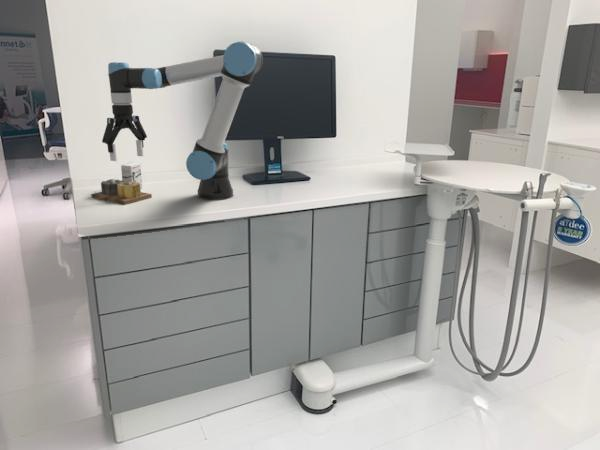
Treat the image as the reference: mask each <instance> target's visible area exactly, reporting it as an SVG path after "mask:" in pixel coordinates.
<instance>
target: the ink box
mask: <svg viewBox="0 0 600 450" xmlns="http://www.w3.org/2000/svg"><path fill="white" fill-rule="evenodd" d="M120 166H121V167H120V169H121V178H122V179H121V181H124V182H138V183H140V188H141V189H143V182H142V181H143V178H142V177H143V176H142V165H141V162H140V163H139V162H134V161H133V162H127V163H124V164H121V165H120Z"/></svg>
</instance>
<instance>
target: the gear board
mask: <svg viewBox="0 0 600 450" xmlns="http://www.w3.org/2000/svg"><path fill="white" fill-rule="evenodd" d="M121 182H124V181H122V180H120V179H115V178H110V179H107V180H103V181H101V183H100V187H101V191H99V192H94V193H91V194H90V195H91V198H92V199H95V200H96V199H97V200H101V201H105V202H111V203H116V204H120V205H129V204H133V203H137V202H140V201H145V200H148V199H151V198H152V195H153V194H152V193H148V192H142V191H141V196H139V197H136V198H135V197H134V198H120V197H118V188H117V184H120V183H121ZM126 185H132V182H126Z"/></svg>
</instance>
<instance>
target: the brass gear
mask: <svg viewBox="0 0 600 450" xmlns="http://www.w3.org/2000/svg"><path fill="white" fill-rule="evenodd" d="M117 188H118V197H120V198H134V197H135V198H136V197H139V196H141V192H142V191H141V188H140V183H138V182H132V185H126V182H121V183H120V184H117Z"/></svg>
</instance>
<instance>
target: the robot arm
mask: <svg viewBox="0 0 600 450" xmlns="http://www.w3.org/2000/svg"><path fill="white" fill-rule="evenodd" d="M263 62H264V57H263V54H262V51H261V50H260V49H259V48H258V47H257V46H256V45H254V44H252V43H248V42H245V41H235V42H233V43H231V44H230V45H228V46H227V47H226V48H225V50H224V53H223V54H222V55H217V56H212V57H207V58H203V59H197V60H193V61H188V62H187V61H186V62H183V63H177V64H172V65H168V66H167V65H166V66H161V67H157V68H155V67H154V68H153V67H138V68H137V67H134V68H133V67H130V66H129V63H128V62H115V61H114V62H109V63H108V66H107V67H108V68H107V69H108V72H107V73H108V74H107V75H108V81H109V87H110V88H109V90H110V99H111V100H110V101H111V104H112V105H111V109H112V114H113V117H107V118H106V126H105V129H104V130H105V131H104V132H103V133H104V134H103V138H102V140H101V141H102V143H103V144H106V146H107V153H109V158H110V161H111V162H117V160H118V159H117V151H116V144H115V143H114V142H115V140H116V138H117V137H118V135H119V133H120V131H122V130H123V129H129V130H130V131H131V133H132V134H133V136H134V137H135V138H136V140H135V144H136V156H137V157H144V149H143V148H144V145H145V144H144V141H146V139H147V137H148V136H147V133H146V131H145V130H144V127H143V125H142V123H141V120H140V116H139V115H133V114H134V109H133V108H134V107H133V99H132V97H133V96H132V89H139V90H140V89H144V90H146V89H147V90H157V89H162V88H167V87H170V86H175V85H181V84H185V83H191V82H197V81H202V80H206V79H207V80H208V79H213V78H218V77H221V78H222V80H221V84H220V86H219V89H218V92H217V94H216V98H215V100H214V102H213V105H212V108H211V111H210V114H209V117H208V120H207V123H206V125H205V128H204V131H203V133H202V137H201V138H198V139H197V140H196V141H195V144H194V146H193V151H192V152H190V154H188V156H187V157H186V163H185V165H186V169H187V172H188V173H189V174H190V175H191V176H192V177H193V179H197V180H200V181H199V184H198V189H197V197H198V198H201V199H205V200H224V199H229V198H232V197H233V196H234V189H233V187H232V184H231V181H230V177H229V175H230V174H229V173H230V172H229V147H228V144H227V142H225V141H226V139H227V136H228V134H229V131H230V128H231V125H232V123H233V120H234V117H235V114H236V112H237V109H238V106H239V104H240V102H241V99H242V96H243V93H244V90H245V88H248V87H250V86H251V83H252V81H253V78H254V76H255V75H256V74H257V73H258V72H259V71H260V70H261V68H262V66H263Z"/></svg>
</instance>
